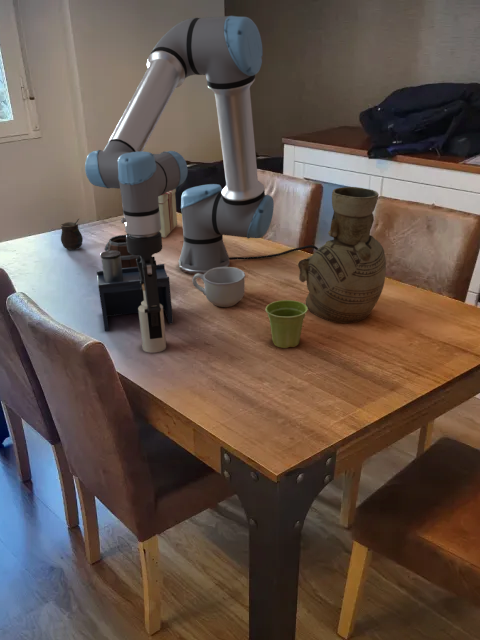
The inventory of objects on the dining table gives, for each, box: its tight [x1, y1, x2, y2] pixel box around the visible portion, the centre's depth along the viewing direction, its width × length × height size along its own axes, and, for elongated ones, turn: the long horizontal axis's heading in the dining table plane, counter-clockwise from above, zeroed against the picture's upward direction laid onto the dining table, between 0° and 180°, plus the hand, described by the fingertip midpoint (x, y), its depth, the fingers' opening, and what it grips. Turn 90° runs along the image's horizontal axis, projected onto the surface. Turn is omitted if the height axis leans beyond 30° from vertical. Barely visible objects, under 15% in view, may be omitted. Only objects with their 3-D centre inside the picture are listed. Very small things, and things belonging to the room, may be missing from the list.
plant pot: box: [265, 299, 309, 349], centre depth 145 cm, size 9×9×9 cm
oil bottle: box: [138, 283, 167, 354], centre depth 144 cm, size 6×6×15 cm
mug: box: [104, 234, 138, 268], centre depth 175 cm, size 16×12×15 cm
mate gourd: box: [60, 218, 84, 251], centre depth 209 cm, size 7×8×10 cm
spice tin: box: [99, 250, 123, 283], centre depth 153 cm, size 5×5×7 cm
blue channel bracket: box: [96, 263, 174, 332], centre depth 158 cm, size 17×10×12 cm, turn 101°
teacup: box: [191, 266, 246, 308], centre depth 167 cm, size 14×11×8 cm
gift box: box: [126, 188, 178, 239], centre depth 218 cm, size 17×18×17 cm
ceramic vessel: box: [297, 186, 387, 324], centre depth 151 cm, size 19×21×30 cm
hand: (152, 325), depth 145 cm, fingers open, 13 cm apart
